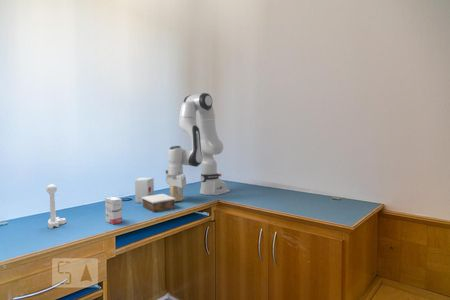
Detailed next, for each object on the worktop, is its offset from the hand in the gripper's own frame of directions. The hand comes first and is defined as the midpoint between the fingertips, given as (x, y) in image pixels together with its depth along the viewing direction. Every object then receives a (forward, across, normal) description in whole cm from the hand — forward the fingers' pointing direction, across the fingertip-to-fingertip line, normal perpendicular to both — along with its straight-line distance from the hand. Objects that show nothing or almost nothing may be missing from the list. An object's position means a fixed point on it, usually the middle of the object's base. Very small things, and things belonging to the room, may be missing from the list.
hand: (176, 193), depth 186 cm
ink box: (+5, -16, +44) cm, 47 cm away
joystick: (+5, -2, +67) cm, 68 cm away
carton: (+5, 0, 0) cm, 5 cm away
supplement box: (+6, +14, +15) cm, 22 cm away
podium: (+5, -6, +15) cm, 17 cm away
